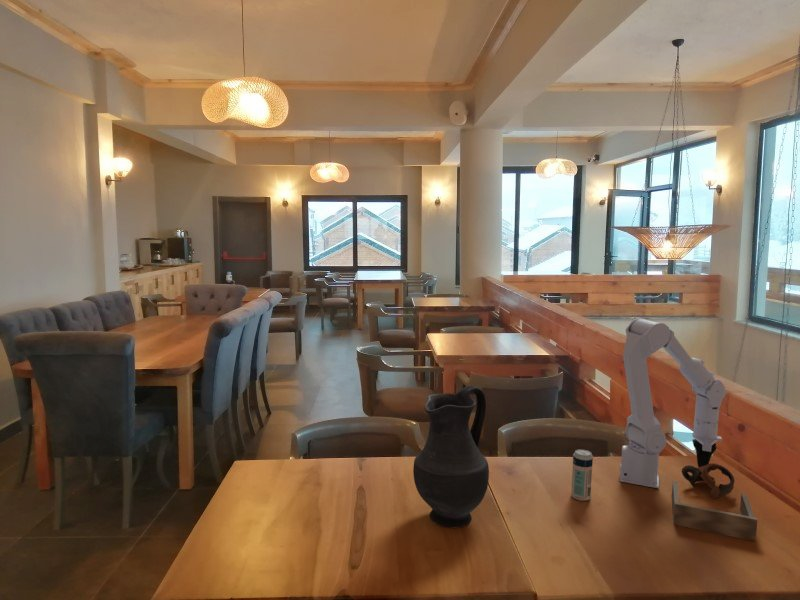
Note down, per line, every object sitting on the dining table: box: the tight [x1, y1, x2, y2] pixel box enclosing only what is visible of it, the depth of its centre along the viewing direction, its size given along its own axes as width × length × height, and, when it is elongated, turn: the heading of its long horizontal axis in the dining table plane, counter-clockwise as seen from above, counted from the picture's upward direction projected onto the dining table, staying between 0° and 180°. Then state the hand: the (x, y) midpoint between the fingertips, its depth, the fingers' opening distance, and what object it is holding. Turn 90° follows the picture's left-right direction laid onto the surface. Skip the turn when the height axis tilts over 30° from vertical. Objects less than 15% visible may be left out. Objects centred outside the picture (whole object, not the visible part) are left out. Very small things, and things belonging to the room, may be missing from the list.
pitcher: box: [413, 384, 490, 528], centre depth 127 cm, size 17×21×30 cm
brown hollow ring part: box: [681, 462, 736, 499], centre depth 142 cm, size 12×10×8 cm
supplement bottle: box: [570, 448, 594, 502], centre depth 137 cm, size 5×5×12 cm
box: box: [671, 480, 758, 542], centre depth 129 cm, size 16×16×5 cm
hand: (702, 467), depth 151 cm, fingers closed
